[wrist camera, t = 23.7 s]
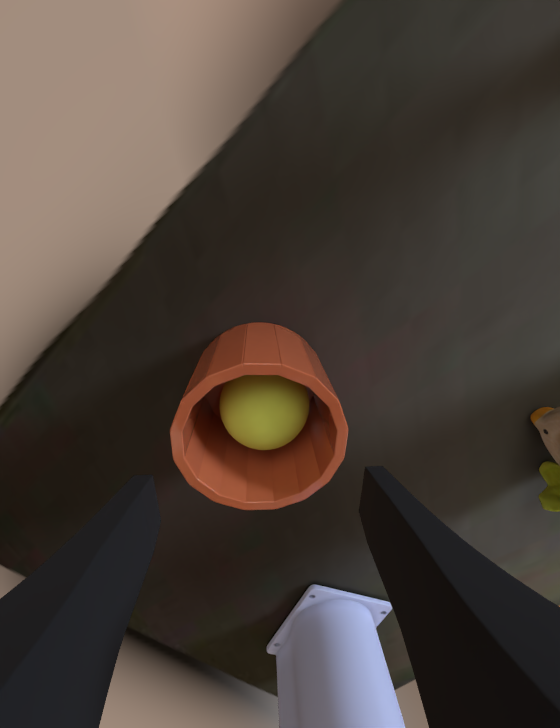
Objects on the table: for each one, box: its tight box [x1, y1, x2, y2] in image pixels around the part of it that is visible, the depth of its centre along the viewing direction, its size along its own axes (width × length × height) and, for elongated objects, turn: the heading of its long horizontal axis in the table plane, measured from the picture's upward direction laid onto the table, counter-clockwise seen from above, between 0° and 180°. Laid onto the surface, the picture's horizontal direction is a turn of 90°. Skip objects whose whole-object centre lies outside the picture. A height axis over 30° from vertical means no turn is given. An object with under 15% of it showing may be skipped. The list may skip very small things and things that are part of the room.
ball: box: [219, 375, 309, 450], centre depth 16 cm, size 5×5×5 cm
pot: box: [170, 322, 348, 510], centre depth 16 cm, size 7×7×6 cm
